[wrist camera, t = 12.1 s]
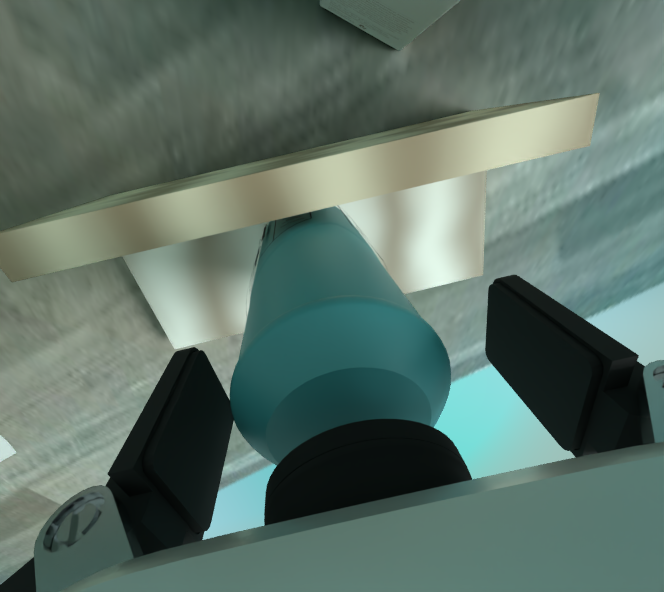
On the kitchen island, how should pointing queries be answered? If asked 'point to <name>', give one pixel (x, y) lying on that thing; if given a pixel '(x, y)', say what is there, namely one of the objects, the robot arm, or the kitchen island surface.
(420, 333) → the beverage bottle
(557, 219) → the kitchen island surface
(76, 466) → the kitchen island surface
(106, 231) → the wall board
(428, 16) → the small box
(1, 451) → the heart sculpture
